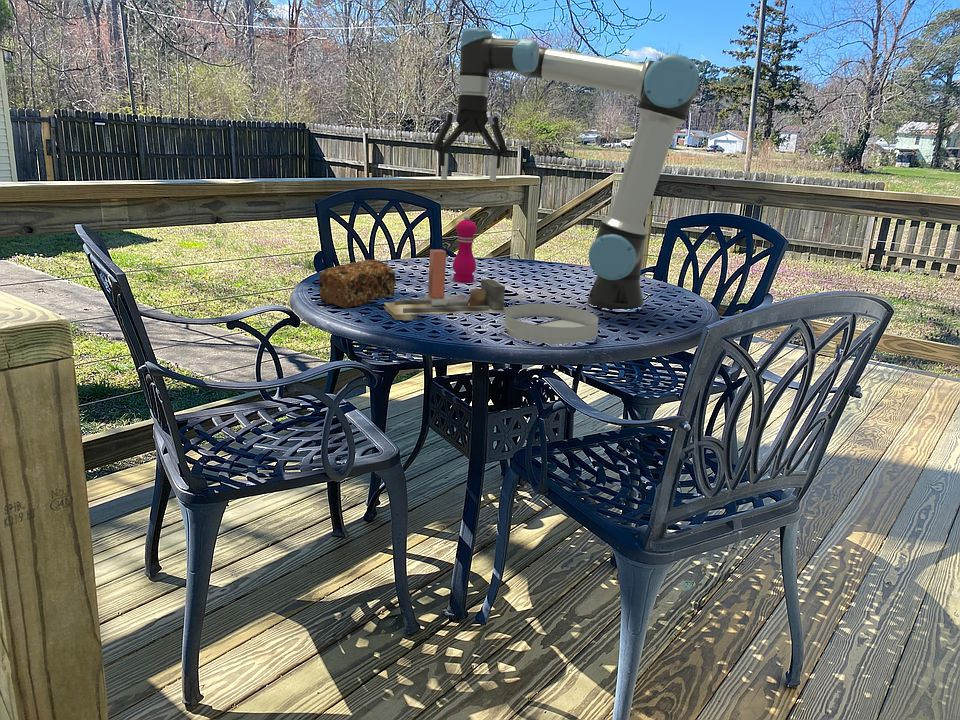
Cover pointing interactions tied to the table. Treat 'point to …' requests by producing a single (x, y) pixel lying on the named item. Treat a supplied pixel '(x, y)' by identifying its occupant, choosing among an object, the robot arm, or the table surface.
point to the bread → (356, 283)
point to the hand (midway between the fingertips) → (468, 180)
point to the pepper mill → (465, 252)
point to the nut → (477, 297)
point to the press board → (418, 306)
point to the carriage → (440, 283)
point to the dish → (551, 324)
